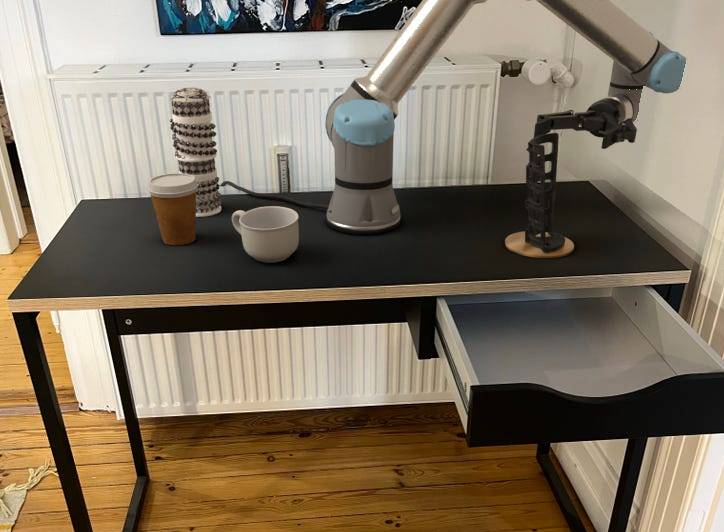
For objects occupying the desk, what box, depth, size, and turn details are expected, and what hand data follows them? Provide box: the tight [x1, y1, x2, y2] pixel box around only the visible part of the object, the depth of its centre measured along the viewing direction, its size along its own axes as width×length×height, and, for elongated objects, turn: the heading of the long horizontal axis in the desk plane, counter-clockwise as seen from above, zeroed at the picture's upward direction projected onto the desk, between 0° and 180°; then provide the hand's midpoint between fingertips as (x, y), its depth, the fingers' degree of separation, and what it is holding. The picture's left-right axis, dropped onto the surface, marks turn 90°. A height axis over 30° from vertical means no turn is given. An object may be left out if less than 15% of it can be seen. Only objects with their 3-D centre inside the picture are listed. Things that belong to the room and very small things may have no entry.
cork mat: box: [504, 230, 575, 259], centre depth 147 cm, size 13×13×1 cm
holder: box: [524, 132, 566, 253], centre depth 142 cm, size 11×8×20 cm
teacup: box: [231, 205, 300, 264], centre depth 141 cm, size 14×11×8 cm
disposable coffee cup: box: [146, 172, 198, 246], centre depth 147 cm, size 10×10×12 cm
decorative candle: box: [169, 87, 222, 218], centre depth 159 cm, size 9×9×25 cm
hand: (569, 136), depth 145 cm, fingers open, 13 cm apart
